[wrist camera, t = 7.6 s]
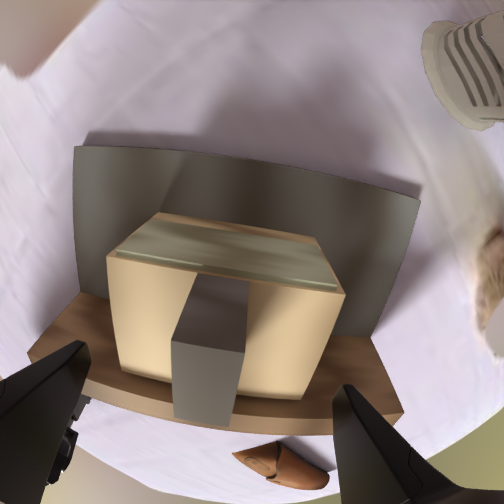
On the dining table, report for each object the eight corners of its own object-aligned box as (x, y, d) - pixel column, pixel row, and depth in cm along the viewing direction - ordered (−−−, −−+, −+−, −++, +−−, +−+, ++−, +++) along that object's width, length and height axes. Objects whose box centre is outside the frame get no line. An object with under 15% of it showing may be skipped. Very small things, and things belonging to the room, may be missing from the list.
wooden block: (156, 304, 20) (96, 425, 9) (158, 207, 17) (50, 299, 7) (289, 325, 20) (308, 461, 10) (315, 232, 17) (382, 355, 7)
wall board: (90, 309, 21) (38, 378, 13) (81, 145, 16) (-12, 163, 8) (356, 351, 22) (386, 433, 14) (414, 197, 17) (499, 243, 9)
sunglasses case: (225, 453, 30) (245, 485, 24) (263, 423, 32) (288, 451, 26) (286, 483, 36) (305, 505, 30) (314, 459, 38) (336, 480, 32)
